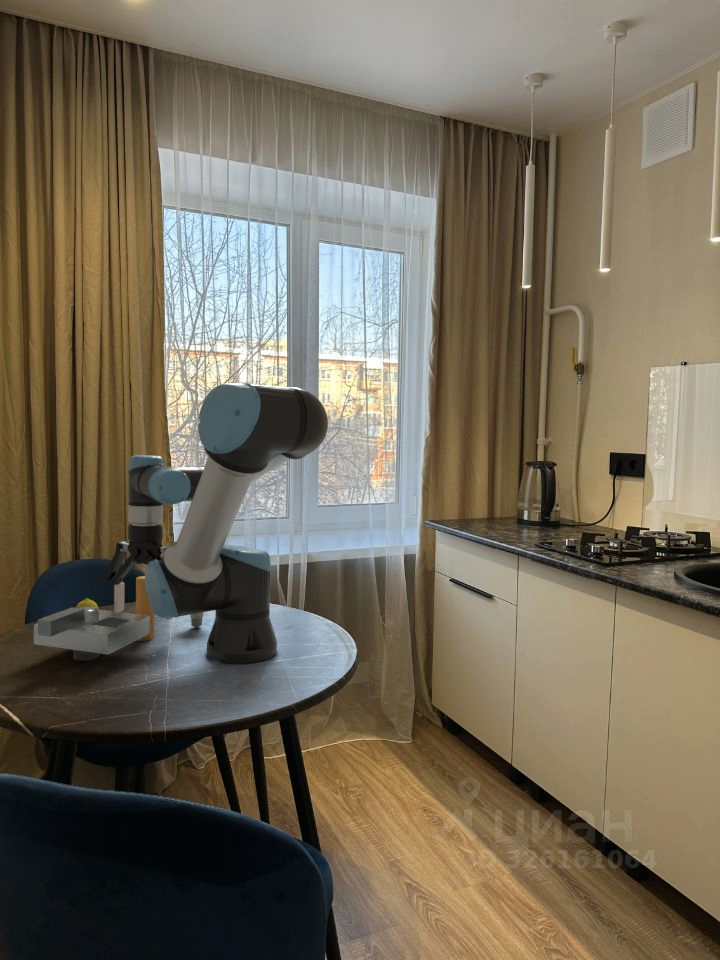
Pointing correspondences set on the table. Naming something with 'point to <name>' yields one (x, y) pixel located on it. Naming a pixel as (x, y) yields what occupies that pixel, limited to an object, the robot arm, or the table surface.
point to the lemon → (87, 603)
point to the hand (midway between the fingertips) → (144, 614)
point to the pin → (144, 605)
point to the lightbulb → (196, 619)
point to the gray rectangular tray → (90, 631)
